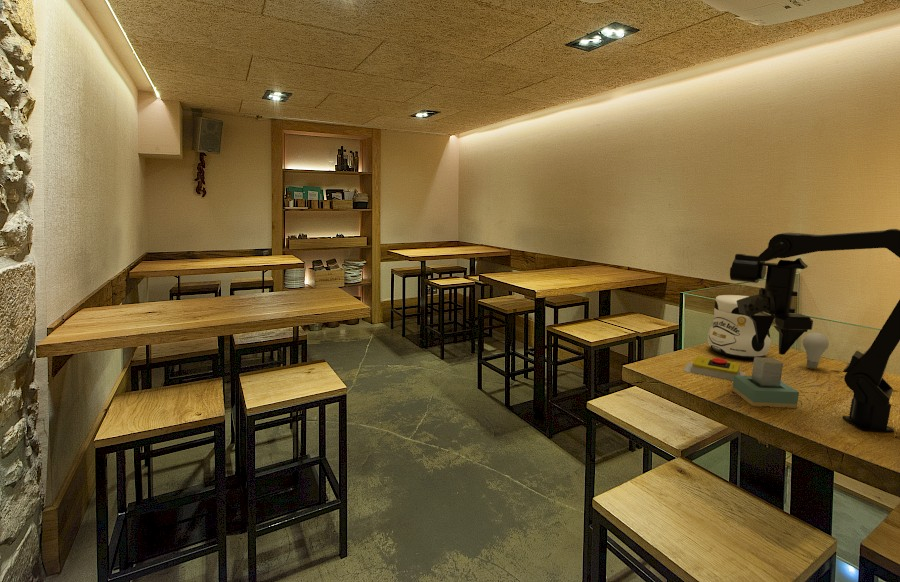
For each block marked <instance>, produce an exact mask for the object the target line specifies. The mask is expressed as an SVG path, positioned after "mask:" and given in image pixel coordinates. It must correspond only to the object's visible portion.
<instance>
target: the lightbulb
mask: <svg viewBox="0 0 900 582" xmlns="http://www.w3.org/2000/svg"><path fill="white" fill-rule="evenodd" d="M829 344H830V342H829V339H828V338H827V336H825V335H824V334H823V333H819V332H810V333H808V334H806V335H804V338H803V339H802V346H803V348H804V350H805V353H806V354H805V355H806V367H808V368H809V369H810V370H815V369H817V368H818V365H819V362H820V361H821V357H822V356H823V354H824V353H825V352H826V351H827V350H828V347H829V346H830V345H829Z"/></svg>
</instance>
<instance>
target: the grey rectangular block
mask: <svg viewBox="0 0 900 582" xmlns="http://www.w3.org/2000/svg"><path fill="white" fill-rule="evenodd" d="M783 367H784V363H783V362H782V361H779V360H778V359H775V358H773V357H765V356H763V357H754V358H753V365H752V371H751V376H752V378H751V382H752V383H753V384H755V385H756V386H758V387H759V388H780V382H781V381H782V375H783V369H784V368H783Z"/></svg>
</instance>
